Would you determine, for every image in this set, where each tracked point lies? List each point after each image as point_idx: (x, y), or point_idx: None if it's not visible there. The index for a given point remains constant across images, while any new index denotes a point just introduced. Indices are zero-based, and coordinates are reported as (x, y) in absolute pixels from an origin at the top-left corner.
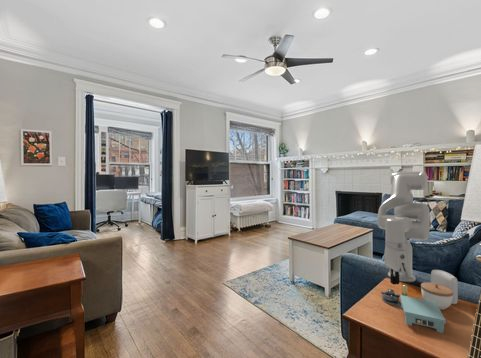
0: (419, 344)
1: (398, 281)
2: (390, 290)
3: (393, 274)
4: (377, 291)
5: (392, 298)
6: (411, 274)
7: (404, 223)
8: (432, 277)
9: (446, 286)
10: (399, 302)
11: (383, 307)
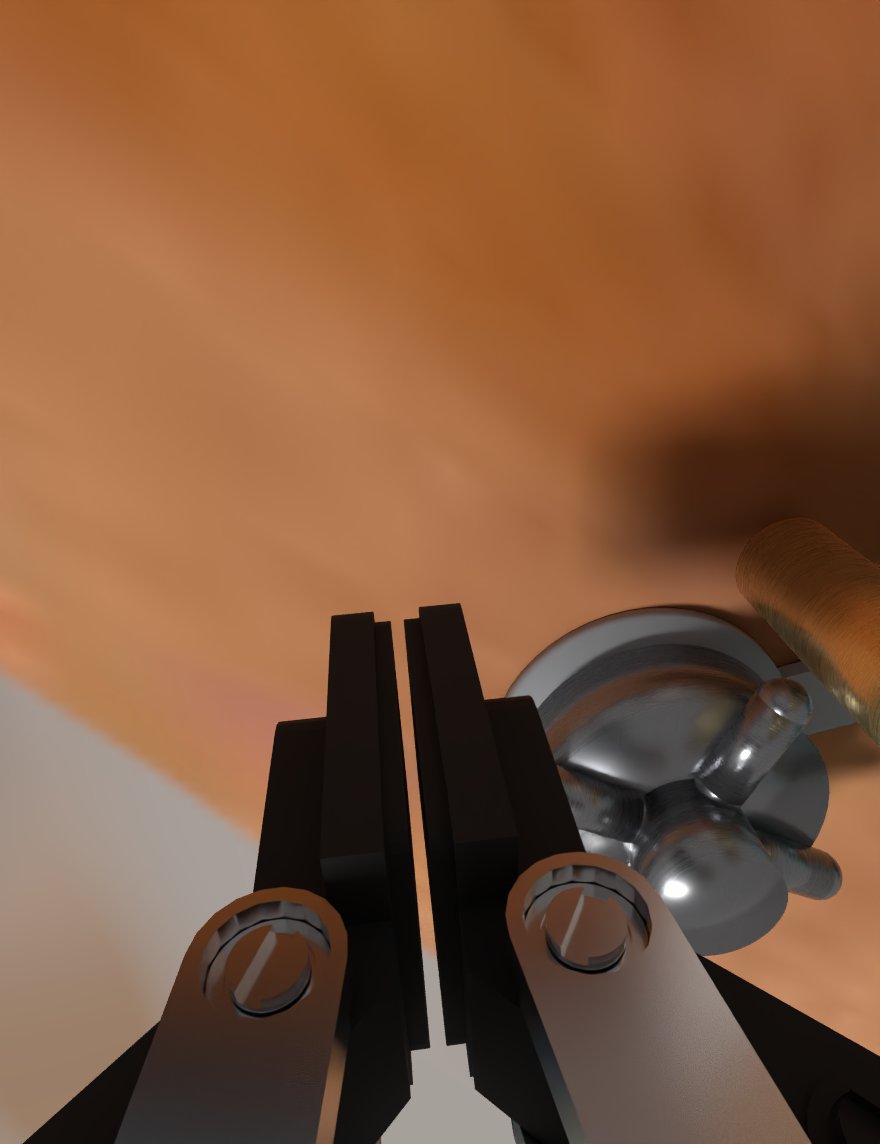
0: None
1: (540, 727)
2: (724, 918)
3: (524, 1119)
4: (256, 788)
5: (833, 870)
6: None
7: None
8: None
9: None
10: (750, 649)
11: (796, 909)
